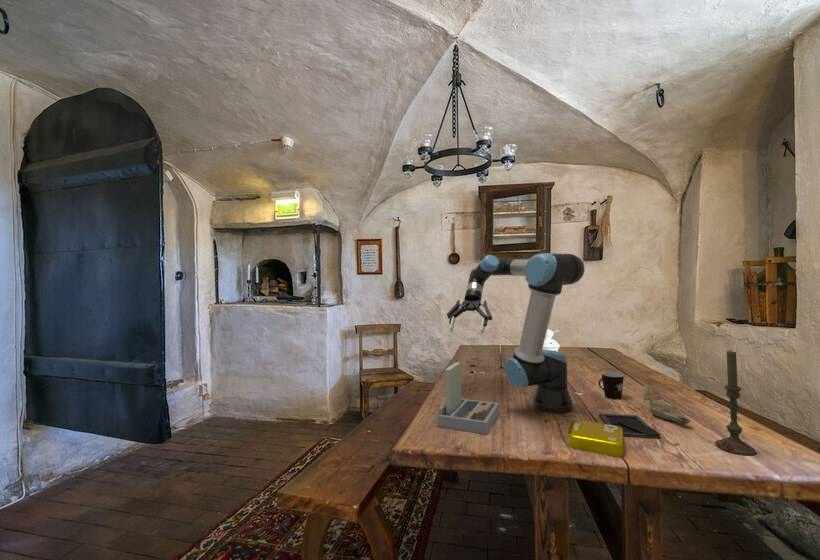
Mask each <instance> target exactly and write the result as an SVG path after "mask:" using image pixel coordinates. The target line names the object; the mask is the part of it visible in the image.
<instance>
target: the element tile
mask: <svg viewBox="0 0 820 560" xmlns="http://www.w3.org/2000/svg"><path fill="white" fill-rule="evenodd" d="M567 438H568V439H567V440H568V441H567V442H568V446H569V448H571V449H574V450H579V451H584V452H589V453H595V454H599V455H606V456H609V457H615V458H621V457H624V437H623V429H622V428H621V427H620V426H615V425H609V424H605V423H602V422H601V423H600V422H595V421H589V420H583V419H573V420H571V424H570V426H569V430H568V434H567Z"/></svg>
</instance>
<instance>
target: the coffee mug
mask: <svg viewBox="0 0 820 560" xmlns="http://www.w3.org/2000/svg"><path fill="white" fill-rule="evenodd" d="M624 378H625V377H624V374H622V373H620V372H613V371H611V372H610V371H605V372H604V371H603V372H601V378H600V379H599V380H598V387H599V388H600V389H601V390H602V391H603V393H604V397H605V398H607V399H609V400H621V399H622V398H623V397H622V396H623V387H624ZM601 382H602V384H603V385H602V386H603V387H602V386H601Z"/></svg>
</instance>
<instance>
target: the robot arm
mask: <svg viewBox="0 0 820 560" xmlns="http://www.w3.org/2000/svg"><path fill="white" fill-rule="evenodd" d="M585 269H586V268H585V264H584V262H583V260H582V259H581V258H580V257H579V256H578V255H575V254H573V253H548V252H543V253H538V254H534V255H533V256H531V257H530V258H529V259H528V258H527V259H514V258H513V259H512V258H511V259H499V258H498V257H497V256H495V255H492V254H487V255H486V256H485V257H483V258H482V260H481V261H480V262H479V264H478V265H477V266H475V267H473V268H472V269H471V270H470V273H469V277H468V278H469V279H468V282H467V287H466V291H465V295H464V299H463V300H462V301H460V300H459V299H457V301H456V303H455V304H454V305H453V306H452V308H451V309H449V311H448V312H446V316H447V319H449V320H448V323H449V330H450V331H449V332H450V333H453V332H454V327H455V323H456V318H458V317H459V316H460V315H462V314H463V313H465V312H467V311H468V312H470V311H471V312H475V311H476V312H477V313H478V314H479V315H480V317H481V318H482V320H481V323H480V333H481V334H483V335H484V330H485V327H487V326H488V322H489V321H492V320H493V316H492V314H491V312H490V309H489V307H488V302H487V300H484V301H482V298H483V297H482V296H483V292H484V286H485V283H486V281H488V279H489V278H490V277H491V276H518V277H519V276H520V277H525V278H524V279H525V281H526V282H527V284H528V285H527V287H528V288H529V290H530V294H529V295H530V296H529V301H528V305H527V310H526V314H525V319H524V322H523V328H522V331H521V337H520V339H519V340H520V342H519V344H518V345H519V346H518V347H515V348H514V350H513V354H512V357H508V358H507V359H506V360H505V361H504V366H503V367H504V372H505V373H504V374H505V375H506V378H507V380H508V382H510V384H511V385H512V386H513V387H516V388H528V387H531V386H536V390H535V394H534V396H533V407H534V408H535V409H537V410H540V411H543V412H546V413H553V414H554V413H555V414H564V413H565V414H566V413H571V412H572V411H573V410H574V409H573V408H574V407H573V406H574V405H573V400H572V398H571V395H570V393H569V390H568V362H567V356H566V354H565V353H564V352H561V351H556V350H548V349H543V347H544V346H545V345H544V344H545V340H546V337H547V334H548V333H547V332H548V328H549V324H550V320H551V316H552V312H553V308H554V304H555V299H556V297H557V296H560V295H561V293H562V290H563V287H564V286H569V285H573V284H576V283H577V282H579V281H580V280H581V279H582V278H583V277H584V274H585ZM481 306H482V308H483V309H484V310H485V311H483V310H482V308H480V307H481Z"/></svg>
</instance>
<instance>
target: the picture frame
mask: <svg viewBox="0 0 820 560" xmlns="http://www.w3.org/2000/svg"><path fill="white" fill-rule="evenodd" d="M598 417H599V418H600V420H601V421H602V422H603V424H609V425H615V426H620V427H621V428H622V429H623V438H635V439H650V440H654V439H655V440H662V437H661V433H660V432H658V430H656V429H655V428H652V427H651V426H650V425H649V424H648V423H647V422H646V421H644V420H643V419H642V418H641V417H640V416H639V415H636V414H617V413H616V414H615V413H598Z"/></svg>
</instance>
